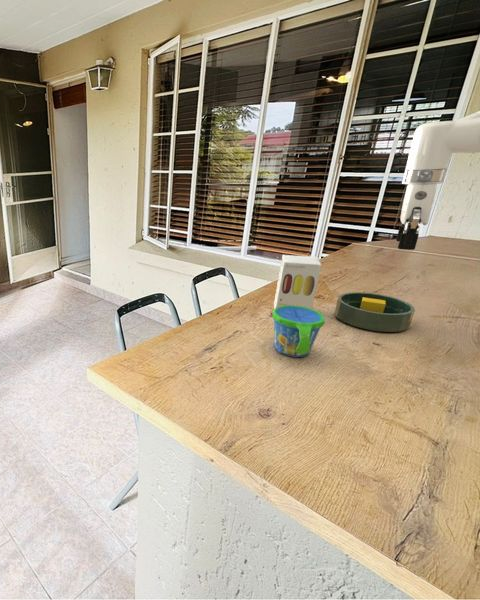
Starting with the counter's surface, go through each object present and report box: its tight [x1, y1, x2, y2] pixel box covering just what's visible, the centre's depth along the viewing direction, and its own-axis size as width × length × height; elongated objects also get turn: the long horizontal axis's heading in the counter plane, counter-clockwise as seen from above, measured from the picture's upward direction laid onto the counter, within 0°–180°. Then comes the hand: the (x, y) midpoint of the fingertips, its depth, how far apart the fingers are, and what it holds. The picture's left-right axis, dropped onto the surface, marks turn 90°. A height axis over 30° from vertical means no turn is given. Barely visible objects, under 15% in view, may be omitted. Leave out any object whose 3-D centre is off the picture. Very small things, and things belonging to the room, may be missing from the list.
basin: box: [333, 291, 416, 333], centre depth 98 cm, size 17×17×6 cm
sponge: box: [360, 297, 386, 313], centre depth 98 cm, size 5×3×6 cm, turn 52°
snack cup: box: [272, 306, 326, 358], centre depth 85 cm, size 16×10×10 cm
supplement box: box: [273, 254, 322, 310], centre depth 104 cm, size 10×9×17 cm
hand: (404, 245), depth 92 cm, fingers open, 9 cm apart
